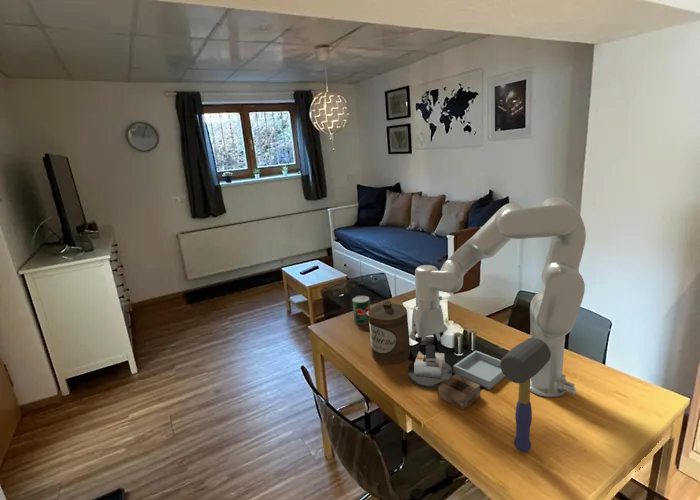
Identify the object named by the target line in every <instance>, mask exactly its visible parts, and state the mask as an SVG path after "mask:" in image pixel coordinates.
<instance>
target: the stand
mask: <svg viewBox="0 0 700 500" xmlns="http://www.w3.org/2000/svg"><path fill="white" fill-rule="evenodd" d="M437 389H438V398H440V399H442V400H444V401H445V402H447V403H449V404H451V405H453V406H454V407H456V408H459V409H460V410H461V411H463V410H466V408H468V407H469V406H470V405H472V404H473V403H474V402H475V401H476V400H477V399H479V398H480V397H481V386H480V385H478V384H476V383H474V382H472V381H470V380H468V379H466V378H463V377H461V376H459V375H457V374H454V375H453V374H452V377H450V378H449V379H448V380H446V381H445V382H443V383H442V384H441V385H439V386H438V388H437Z"/></svg>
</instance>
